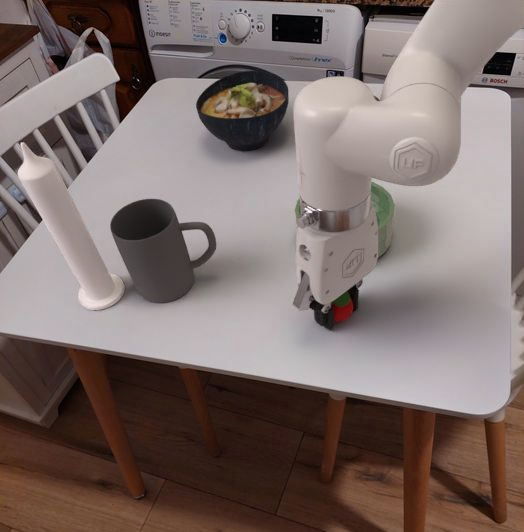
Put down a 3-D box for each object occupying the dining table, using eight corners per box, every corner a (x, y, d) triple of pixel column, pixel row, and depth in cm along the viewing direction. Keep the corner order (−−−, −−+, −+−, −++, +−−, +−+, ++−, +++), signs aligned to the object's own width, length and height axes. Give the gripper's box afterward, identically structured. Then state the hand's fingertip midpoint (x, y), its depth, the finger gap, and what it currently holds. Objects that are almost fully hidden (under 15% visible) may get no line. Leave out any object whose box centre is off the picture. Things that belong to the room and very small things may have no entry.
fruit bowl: (342, 198, 85) (342, 166, 80) (410, 235, 78) (415, 202, 73) (279, 241, 81) (275, 210, 76) (345, 285, 73) (346, 254, 68)
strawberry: (324, 300, 71) (327, 281, 68) (352, 306, 71) (357, 287, 67) (319, 324, 69) (322, 305, 66) (348, 330, 69) (353, 312, 65)
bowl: (191, 160, 98) (177, 109, 90) (225, 113, 107) (216, 63, 99) (274, 169, 93) (268, 116, 85) (303, 119, 102) (300, 66, 94)
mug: (133, 307, 76) (103, 245, 66) (140, 264, 81) (114, 201, 72) (224, 297, 75) (207, 233, 65) (225, 255, 80) (209, 190, 71)
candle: (76, 287, 80) (-11, 138, 60) (119, 271, 81) (47, 119, 61) (84, 317, 76) (-7, 168, 56) (129, 299, 77) (56, 147, 57)
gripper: (303, 259, 51) (311, 366, 65) (413, 180, 56) (398, 295, 71) (254, 227, 55) (272, 334, 69) (361, 156, 60) (357, 269, 75)
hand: (336, 313), depth 70 cm, fingers closed on strawberry, 3 cm apart
